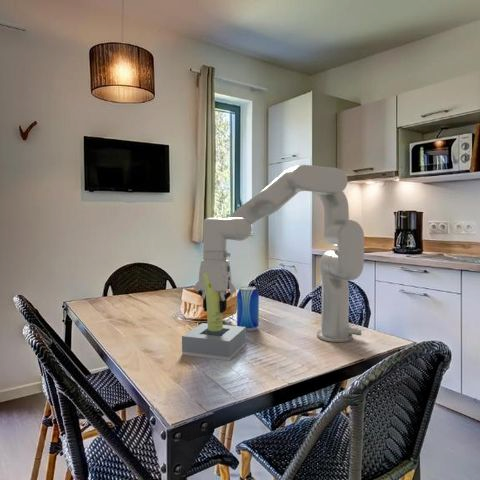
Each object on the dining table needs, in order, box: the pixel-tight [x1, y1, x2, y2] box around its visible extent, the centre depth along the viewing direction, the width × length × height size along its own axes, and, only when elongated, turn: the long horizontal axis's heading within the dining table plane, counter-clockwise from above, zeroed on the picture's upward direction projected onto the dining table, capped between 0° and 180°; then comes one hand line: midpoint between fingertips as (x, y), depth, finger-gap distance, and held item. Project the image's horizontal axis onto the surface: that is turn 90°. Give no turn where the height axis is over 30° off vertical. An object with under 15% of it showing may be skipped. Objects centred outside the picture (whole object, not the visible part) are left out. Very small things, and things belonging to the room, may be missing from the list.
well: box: [181, 322, 247, 362], centre depth 129 cm, size 16×16×6 cm
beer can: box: [236, 286, 260, 332], centre depth 152 cm, size 8×8×16 cm
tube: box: [204, 272, 224, 331], centre depth 128 cm, size 6×5×20 cm
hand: (214, 310), depth 129 cm, fingers closed on tube, 5 cm apart
